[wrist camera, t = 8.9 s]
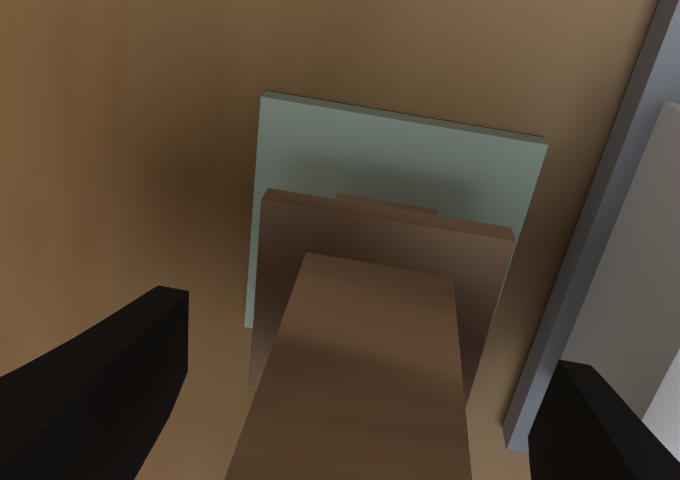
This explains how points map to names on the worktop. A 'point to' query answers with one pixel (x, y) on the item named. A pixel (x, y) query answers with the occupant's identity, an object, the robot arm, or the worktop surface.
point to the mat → (391, 164)
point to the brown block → (366, 339)
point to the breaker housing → (623, 259)
